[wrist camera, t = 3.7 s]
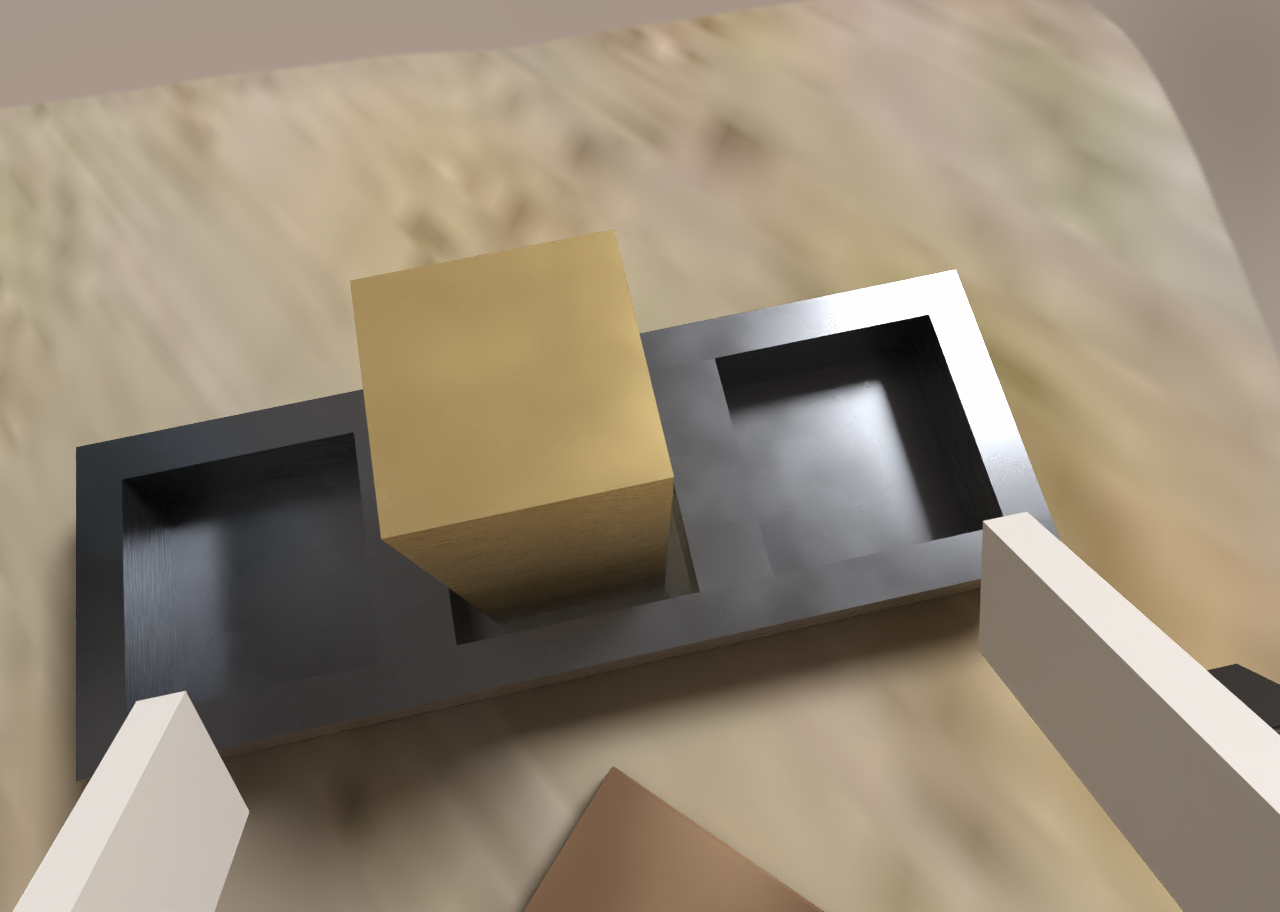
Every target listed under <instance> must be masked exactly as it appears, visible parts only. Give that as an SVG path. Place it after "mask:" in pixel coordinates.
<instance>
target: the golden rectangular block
mask: <svg viewBox="0 0 1280 912" xmlns="http://www.w3.org/2000/svg"><path fill="white" fill-rule="evenodd" d="M350 284H351V292H352V300H353V309H354V317H355V325H356V334H357V342H358V350H359V359H360V367H361V375H362V384H363V392H364V400H365V409H366V417H367V425H368V434H369V442H370V450H371V459H372V467H373V475H374V484H375V492H376V500H377V509H378V517H379V525H380V534H381V539H382V540H383V541H384V542H386V543H387V544H389V545H390V546H391V547H393V548H394V549H396V550H397V551H398V552H400V553H401V554H403V555H404V556H405V557H407V558H408V559H409V560H411V561H412V562H414V563H415V564H416V565H418V566H419V567H421V568H422V569H423V570H425V571H426V572H427V573H429V574H430V575H432V576H433V577H434V578H436V579H437V580H439V581H440V582H441V583H443V584H444V585H445V586H447V587H448V588H450V589H451V590H452V591H454V592H455V593H457V594H458V595H459V596H461V597H462V598H464V599H465V600H466V601H468V602H469V603H470V604H472V605H473V606H475V607H476V608H477V609H479V610H480V611H482V612H483V613H484V614H486V615H487V616H488V617H490V618H491V619H493V620H494V621H495V622H497V623H500V622H504V621H509V620H513V619H518V618H522V617H527V616H532V615H536V614H541V613H545V612H550V611H554V610H559V609H563V608H568V607H573V606H577V605H582V604H586V603H591V602H595V601H600V600H605V599H609V598H614V597H618V596H623V595H627V594H632V593H636V592H641V591H646V590H650V589H655V588H659V587H664V586H665V576H666V564H667V553H668V541H669V529H670V518H671V506H672V494H673V483H674V475H673V471H672V467H671V462H670V458H669V454H668V450H667V446H666V442H665V438H664V433H663V429H662V425H661V421H660V417H659V413H658V408H657V404H656V400H655V396H654V392H653V388H652V384H651V379H650V375H649V371H648V367H647V363H646V359H645V355H644V350H643V346H642V342H641V338H640V334H639V330H638V325H637V321H636V317H635V313H634V309H633V305H632V301H631V296H630V292H629V288H628V284H627V280H626V276H625V271H624V267H623V263H622V259H621V255H620V251H619V247H618V242H617V238H616V234H615V230H608V231H603V232H598V233H593V234H588V235H583V236H578V237H572V238H567V239H562V240H557V241H552V242H547V243H542V244H536V245H531V246H526V247H521V248H516V249H511V250H506V251H500V252H495V253H490V254H485V255H480V256H475V257H470V258H464V259H459V260H454V261H449V262H444V263H439V264H434V265H429V266H423V267H418V268H413V269H408V270H403V271H398V272H393V273H387V274H382V275H377V276H372V277H367V278H362V279H357V280H351V281H350Z"/></svg>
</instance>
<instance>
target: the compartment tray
mask: <svg viewBox="0 0 1280 912" xmlns="http://www.w3.org/2000/svg"><path fill="white" fill-rule="evenodd" d="M640 338H641V342H642V346H643V350H644V355H645V359H646V363H647V367H648V371H649V375H650V379H651V384H652V388H653V392H654V396H655V400H656V404H657V408H658V413H659V417H660V421H661V425H662V429H663V433H664V438H665V442H666V446H667V450H668V454H669V458H670V462H671V467H672V471H673V475H674V483H673V494H672V506H671V518H670V529H669V541H668V553H667V564H666V576H665V586H664V587H659V588H655V589H650V590H646V591H641V592H636V593H632V594H627V595H623V596H618V597H614V598H609V599H605V600H600V601H595V602H591V603H586V604H582V605H577V606H573V607H568V608H563V609H559V610H554V611H550V612H545V613H541V614H536V615H532V616H527V617H522V618H518V619H513V620H509V621H504V622H500V623H497V622H495V621H494V620H493V619H491V618H490V617H488V616H487V615H486V614H484V613H483V612H482V611H480V610H479V609H477V608H476V607H475V606H473V605H472V604H470V603H469V602H468V601H466V600H465V599H464V598H462V597H461V596H459V595H458V594H457V593H455V592H454V591H452V590H451V589H450V588H448V587H447V586H445V585H444V584H443V583H441V582H440V581H439V580H437V579H436V578H434V577H433V576H432V575H430V574H429V573H427V572H426V571H425V570H423V569H422V568H421V567H419V566H418V565H416V564H415V563H414V562H412V561H411V560H409V559H408V558H407V557H405V556H404V555H403V554H401V553H400V552H398V551H397V550H396V549H394V548H393V547H391V546H390V545H389V544H387V543H386V542H384V541H383V540H382V539H381V534H380V525H379V517H378V509H377V500H376V492H375V484H374V475H373V467H372V459H371V450H370V442H369V434H368V425H367V417H366V409H365V400H364V392H363V390H358V391H353V392H348V393H343V394H338V395H333V396H328V397H323V398H318V399H313V400H308V401H303V402H298V403H293V404H288V405H283V406H278V407H273V408H269V409H264V410H259V411H254V412H249V413H244V414H239V415H234V416H229V417H224V418H219V419H214V420H209V421H204V422H199V423H194V424H189V425H184V426H179V427H174V428H169V429H165V430H160V431H155V432H150V433H145V434H140V435H135V436H130V437H125V438H120V439H115V440H110V441H105V442H100V443H95V444H90V445H85V446H80V447H76V781H82V780H91V778H92V776H93V774H94V773H95V771H96V769H97V768H98V766H99V764H100V763H101V761H102V759H103V757H104V756H105V754H106V752H107V751H108V749H109V747H110V746H111V744H112V742H113V740H114V739H115V737H116V735H117V734H118V732H119V730H120V729H121V727H122V725H123V723H124V722H125V720H126V718H127V717H128V715H129V713H130V712H131V710H132V708H133V706H134V705H135V703H136V701H140V700H145V699H150V698H154V697H159V696H164V695H168V694H173V693H178V692H182V691H186V692H187V694H188V696H189V698H190V700H191V702H192V704H193V706H194V708H195V710H196V711H197V713H198V715H199V717H200V719H201V721H202V723H203V725H204V727H205V728H206V730H207V732H208V734H209V736H210V738H211V740H212V742H213V744H214V746H215V747H216V749H217V751H218V753H219V755H220V757H221V758H225V757H230V756H234V755H239V754H243V753H248V752H252V751H257V750H261V749H265V748H270V747H274V746H279V745H283V744H288V743H292V742H297V741H301V740H306V739H310V738H314V737H319V736H323V735H328V734H332V733H337V732H341V731H346V730H350V729H355V728H359V727H364V726H368V725H372V724H377V723H381V722H386V721H390V720H395V719H399V718H404V717H408V716H413V715H417V714H422V713H426V712H430V711H435V710H439V709H444V708H448V707H453V706H457V705H462V704H466V703H471V702H475V701H480V700H484V699H488V698H493V697H497V696H502V695H506V694H511V693H515V692H520V691H524V690H529V689H533V688H538V687H542V686H546V685H551V684H555V683H560V682H564V681H569V680H573V679H578V678H582V677H587V676H591V675H595V674H600V673H604V672H609V671H613V670H618V669H622V668H627V667H631V666H636V665H640V664H645V663H649V662H653V661H658V660H662V659H667V658H671V657H676V656H680V655H685V654H689V653H694V652H698V651H703V650H707V649H711V648H716V647H720V646H725V645H729V644H734V643H738V642H743V641H747V640H752V639H756V638H761V637H765V636H769V635H774V634H778V633H783V632H787V631H792V630H796V629H801V628H805V627H810V626H814V625H819V624H823V623H827V622H832V621H836V620H841V619H845V618H850V617H854V616H859V615H863V614H868V613H872V612H877V611H881V610H885V609H890V608H894V607H899V606H903V605H908V604H912V603H917V602H921V601H926V600H930V599H934V598H939V597H943V596H948V595H952V594H957V593H961V592H966V591H970V590H975V589H979V588H981V564H982V532H983V521H985V520H990V519H995V518H999V517H1004V516H1009V515H1013V514H1018V513H1023V512H1028V513H1029V514H1030V515H1031V516H1032V517H1034V518H1035V519H1036V520H1037V521H1038V522H1039V523H1040V524H1042V525H1043V526H1044V527H1045V528H1046V529H1047V530H1048V531H1049V532H1051V533H1052V534H1053V535H1054V536H1055V537H1056V538H1057V539H1058V540H1060V538H1059V535H1058V533H1057V530H1056V528H1055V525H1054V523H1053V520H1052V517H1051V515H1050V512H1049V510H1048V507H1047V504H1046V502H1045V499H1044V497H1043V494H1042V492H1041V489H1040V486H1039V484H1038V481H1037V479H1036V476H1035V473H1034V471H1033V468H1032V466H1031V463H1030V460H1029V458H1028V455H1027V453H1026V450H1025V448H1024V445H1023V442H1022V440H1021V437H1020V435H1019V432H1018V429H1017V427H1016V424H1015V422H1014V419H1013V416H1012V414H1011V411H1010V409H1009V406H1008V404H1007V401H1006V398H1005V396H1004V393H1003V391H1002V388H1001V385H1000V383H999V380H998V378H997V375H996V373H995V370H994V367H993V365H992V362H991V360H990V357H989V354H988V352H987V349H986V347H985V344H984V341H983V339H982V336H981V334H980V331H979V329H978V326H977V323H976V321H975V318H974V316H973V313H972V310H971V308H970V305H969V303H968V300H967V297H966V295H965V292H964V290H963V287H962V285H961V282H960V279H959V277H958V274H957V272H956V270H952V271H947V272H942V273H937V274H932V275H927V276H922V277H917V278H912V279H907V280H902V281H898V282H893V283H888V284H883V285H878V286H873V287H868V288H863V289H858V290H853V291H848V292H843V293H838V294H833V295H828V296H823V297H818V298H813V299H808V300H803V301H798V302H793V303H789V304H784V305H779V306H774V307H769V308H764V309H759V310H754V311H749V312H744V313H739V314H734V315H729V316H724V317H719V318H714V319H709V320H704V321H699V322H694V323H689V324H685V325H680V326H675V327H670V328H665V329H660V330H655V331H650V332H645V333H640Z"/></svg>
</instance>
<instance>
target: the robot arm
mask: <svg viewBox="0 0 1280 912" xmlns="http://www.w3.org/2000/svg"><path fill="white" fill-rule="evenodd" d="M979 651H980V653H981V654H982V655H983V656H984V658H985V659H986V660H987V662H988V663H989V664H990V665H991V667H992V668H993V669H994V670H995V672H996V673H997V674H998V676H999V677H1000V678H1001V679H1002V681H1003V682H1004V683H1005V684H1006V686H1007V687H1008V688H1009V690H1010V691H1011V692H1012V693H1013V695H1014V696H1015V697H1016V699H1017V700H1018V701H1019V702H1020V704H1021V705H1022V706H1023V707H1024V709H1025V710H1026V711H1027V713H1028V714H1029V715H1030V716H1031V718H1032V719H1033V720H1034V721H1035V723H1036V724H1037V725H1038V727H1039V728H1040V729H1041V730H1042V732H1043V733H1044V734H1045V736H1046V737H1047V738H1048V739H1049V741H1050V742H1051V743H1052V744H1053V746H1054V747H1055V748H1056V750H1057V751H1058V752H1059V753H1060V755H1061V756H1062V757H1063V758H1064V760H1065V761H1066V762H1067V764H1068V765H1069V766H1070V767H1071V769H1072V770H1073V771H1074V772H1075V774H1076V775H1077V776H1078V778H1079V779H1080V780H1081V781H1082V783H1083V784H1084V785H1085V787H1086V788H1087V789H1088V790H1089V792H1090V793H1091V794H1092V795H1093V797H1094V798H1095V799H1096V801H1097V802H1098V803H1099V804H1100V806H1101V807H1102V808H1103V809H1104V811H1105V812H1106V813H1107V815H1108V816H1109V817H1110V818H1111V820H1112V821H1113V822H1114V824H1115V825H1116V826H1117V827H1118V829H1119V830H1120V831H1121V832H1122V834H1123V835H1124V836H1125V838H1126V839H1127V840H1128V841H1129V843H1130V844H1131V845H1132V846H1133V848H1134V849H1135V850H1136V852H1137V853H1138V854H1139V855H1140V857H1141V858H1142V859H1143V860H1144V862H1145V863H1146V864H1147V866H1148V867H1149V868H1150V869H1151V871H1152V872H1153V873H1154V875H1155V876H1156V877H1157V878H1158V880H1159V881H1160V882H1161V883H1162V885H1163V886H1164V887H1165V889H1166V890H1167V891H1168V892H1169V894H1170V895H1171V896H1172V897H1173V899H1174V900H1175V901H1176V903H1177V904H1178V905H1179V906H1180V908H1181V909H1182V910H1183V912H1280V685H1279V684H1277V683H1275V682H1273V681H1271V680H1269V679H1267V678H1265V677H1263V676H1261V675H1259V674H1257V673H1255V672H1253V671H1251V670H1249V669H1247V668H1245V667H1242V666H1240V665H1238V664H1233V665H1229V666H1224V667H1220V668H1216V669H1211V670H1205V669H1204V668H1203V667H1202V666H1201V665H1200V664H1199V663H1198V662H1196V661H1195V660H1194V659H1193V658H1192V657H1191V656H1190V655H1189V654H1187V653H1186V652H1185V651H1184V650H1183V649H1182V648H1181V647H1179V646H1178V645H1177V644H1176V643H1175V642H1174V641H1173V640H1172V639H1170V638H1169V637H1168V636H1167V635H1166V634H1165V633H1164V632H1162V631H1161V630H1160V629H1159V628H1158V627H1157V626H1156V625H1155V624H1153V623H1152V622H1151V621H1150V620H1149V619H1148V618H1147V617H1146V616H1144V615H1143V614H1142V613H1141V612H1140V611H1139V610H1138V609H1136V608H1135V607H1134V606H1133V605H1132V604H1131V603H1130V602H1129V601H1127V600H1126V599H1125V598H1124V597H1123V596H1122V595H1121V594H1120V593H1118V592H1117V591H1116V590H1115V589H1114V588H1113V587H1112V586H1110V585H1109V584H1108V583H1107V582H1106V581H1105V580H1104V579H1103V578H1101V577H1100V576H1099V575H1098V574H1097V573H1096V572H1095V571H1094V570H1092V569H1091V568H1090V567H1089V566H1088V565H1087V564H1086V563H1084V562H1083V561H1082V560H1081V559H1080V558H1079V557H1078V556H1077V555H1075V554H1074V553H1073V552H1072V551H1071V550H1070V549H1069V548H1068V547H1066V546H1065V545H1064V544H1063V543H1062V542H1061V541H1060V540H1058V539H1057V538H1056V537H1055V536H1054V535H1053V534H1052V533H1051V532H1049V531H1048V530H1047V529H1046V528H1045V527H1044V526H1043V525H1042V524H1040V523H1039V522H1038V521H1037V520H1036V519H1035V518H1034V517H1032V516H1031V515H1030V514H1029V513H1028V512H1023V513H1018V514H1013V515H1009V516H1004V517H999V518H995V519H990V520H985V521H983V532H982V564H981V595H980V627H979ZM248 815H249V810H248V808H247V806H246V804H245V802H244V800H243V799H242V797H241V795H240V793H239V791H238V789H237V787H236V785H235V783H234V781H233V780H232V778H231V776H230V774H229V772H228V770H227V768H226V766H225V764H224V763H223V761H222V759H221V757H220V755H219V753H218V751H217V749H216V747H215V746H214V744H213V742H212V740H211V738H210V736H209V734H208V732H207V730H206V728H205V727H204V725H203V723H202V721H201V719H200V717H199V715H198V713H197V711H196V710H195V708H194V706H193V704H192V702H191V700H190V698H189V696H188V694H187V692H186V691H182V692H178V693H173V694H168V695H164V696H159V697H154V698H150V699H145V700H140V701H136V703H135V705H134V706H133V708H132V710H131V712H130V713H129V715H128V717H127V718H126V720H125V722H124V723H123V725H122V727H121V729H120V730H119V732H118V734H117V735H116V737H115V739H114V740H113V742H112V744H111V746H110V747H109V749H108V751H107V752H106V754H105V756H104V757H103V759H102V761H101V763H100V764H99V766H98V768H97V769H96V771H95V773H94V774H93V776H92V778H91V780H90V781H89V783H88V785H87V786H86V788H85V790H84V791H83V793H82V795H81V797H80V798H79V800H78V802H77V803H76V805H75V807H74V808H73V810H72V812H71V814H70V815H69V817H68V819H67V820H66V822H65V824H64V825H63V827H62V829H61V831H60V832H59V834H58V836H57V837H56V839H55V841H54V842H53V844H52V846H51V848H50V849H49V851H48V853H47V854H46V856H45V858H44V859H43V861H42V863H41V865H40V866H39V868H38V870H37V871H36V873H35V875H34V876H33V878H32V880H31V882H30V883H29V885H28V887H27V888H26V890H25V892H24V893H23V895H22V897H21V899H20V900H19V902H18V904H17V905H16V907H15V909H14V910H13V912H214V911H215V909H216V906H217V903H218V900H219V897H220V894H221V891H222V889H223V886H224V883H225V880H226V877H227V874H228V872H229V869H230V866H231V863H232V860H233V857H234V855H235V852H236V849H237V846H238V843H239V840H240V837H241V835H242V832H243V829H244V826H245V823H246V820H247V818H248Z"/></svg>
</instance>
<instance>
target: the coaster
mask: <svg viewBox="0 0 1280 912" xmlns="http://www.w3.org/2000/svg"><path fill="white" fill-rule="evenodd" d="M524 912H824V911H822V910H821V909H819V908H818V907H816V906H815V905H814V904H812V903H811V902H809V901H808V900H806V899H805V898H803V897H802V896H801V895H799V894H798V893H796V892H795V891H793V890H792V889H790V888H789V887H788V886H786V885H785V884H783V883H782V882H780V881H779V880H777V879H776V878H775V877H773V876H772V875H770V874H769V873H767V872H766V871H764V870H763V869H762V868H760V867H759V866H757V865H756V864H754V863H753V862H751V861H750V860H748V859H747V858H746V857H744V856H743V855H741V854H740V853H738V852H737V851H735V850H734V849H733V848H731V847H730V846H728V845H727V844H725V843H724V842H722V841H721V840H720V839H718V838H717V837H715V836H714V835H712V834H711V833H709V832H708V831H707V830H705V829H704V828H702V827H701V826H699V825H698V824H696V823H695V822H694V821H692V820H691V819H689V818H688V817H686V816H685V815H683V814H682V813H681V812H679V811H678V810H676V809H675V808H673V807H672V806H670V805H669V804H668V803H666V802H665V801H663V800H662V799H660V798H659V797H657V796H656V795H654V794H653V793H652V792H650V791H649V790H647V789H646V788H644V787H643V786H641V785H640V784H639V783H637V782H636V781H634V780H633V779H631V778H630V777H628V776H627V775H626V774H624V773H623V772H621V771H620V770H618V769H617V768H615V767H612V768H611V770H610V771H609V773H608V775H607V776H606V778H605V779H604V781H603V783H602V784H601V786H600V788H599V789H598V791H597V792H596V794H595V796H594V797H593V799H592V801H591V802H590V804H589V806H588V807H587V809H586V810H585V812H584V814H583V815H582V817H581V819H580V820H579V822H578V823H577V825H576V827H575V828H574V830H573V832H572V833H571V835H570V837H569V838H568V840H567V841H566V843H565V845H564V846H563V848H562V850H561V851H560V853H559V854H558V856H557V858H556V859H555V861H554V863H553V864H552V866H551V868H550V869H549V871H548V872H547V874H546V876H545V877H544V879H543V881H542V882H541V884H540V885H539V887H538V889H537V890H536V892H535V894H534V895H533V897H532V899H531V900H530V902H529V903H528V905H527V907H526V908H525V910H524Z"/></svg>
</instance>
